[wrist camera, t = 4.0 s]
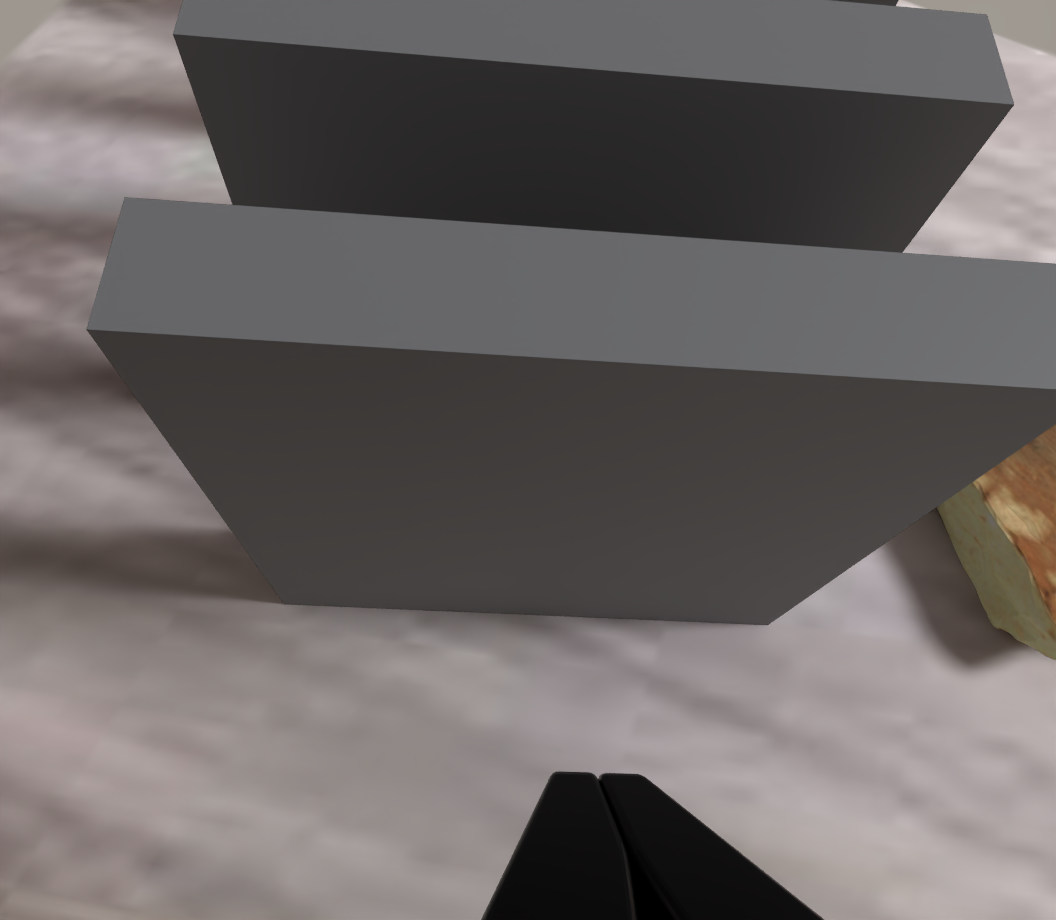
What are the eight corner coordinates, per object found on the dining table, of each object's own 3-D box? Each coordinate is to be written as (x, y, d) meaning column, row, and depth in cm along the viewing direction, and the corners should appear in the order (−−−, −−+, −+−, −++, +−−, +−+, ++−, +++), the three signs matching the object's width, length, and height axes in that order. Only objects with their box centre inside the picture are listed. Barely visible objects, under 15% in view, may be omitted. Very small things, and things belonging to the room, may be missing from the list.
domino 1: (767, 624, 18) (1102, 391, 8) (284, 604, 17) (85, 329, 8) (760, 552, 18) (1063, 264, 9) (295, 530, 18) (124, 197, 9)
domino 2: (750, 453, 19) (1014, 104, 10) (310, 428, 19) (173, 33, 10) (745, 392, 20) (987, 14, 11) (320, 366, 19) (198, -58, 10)
